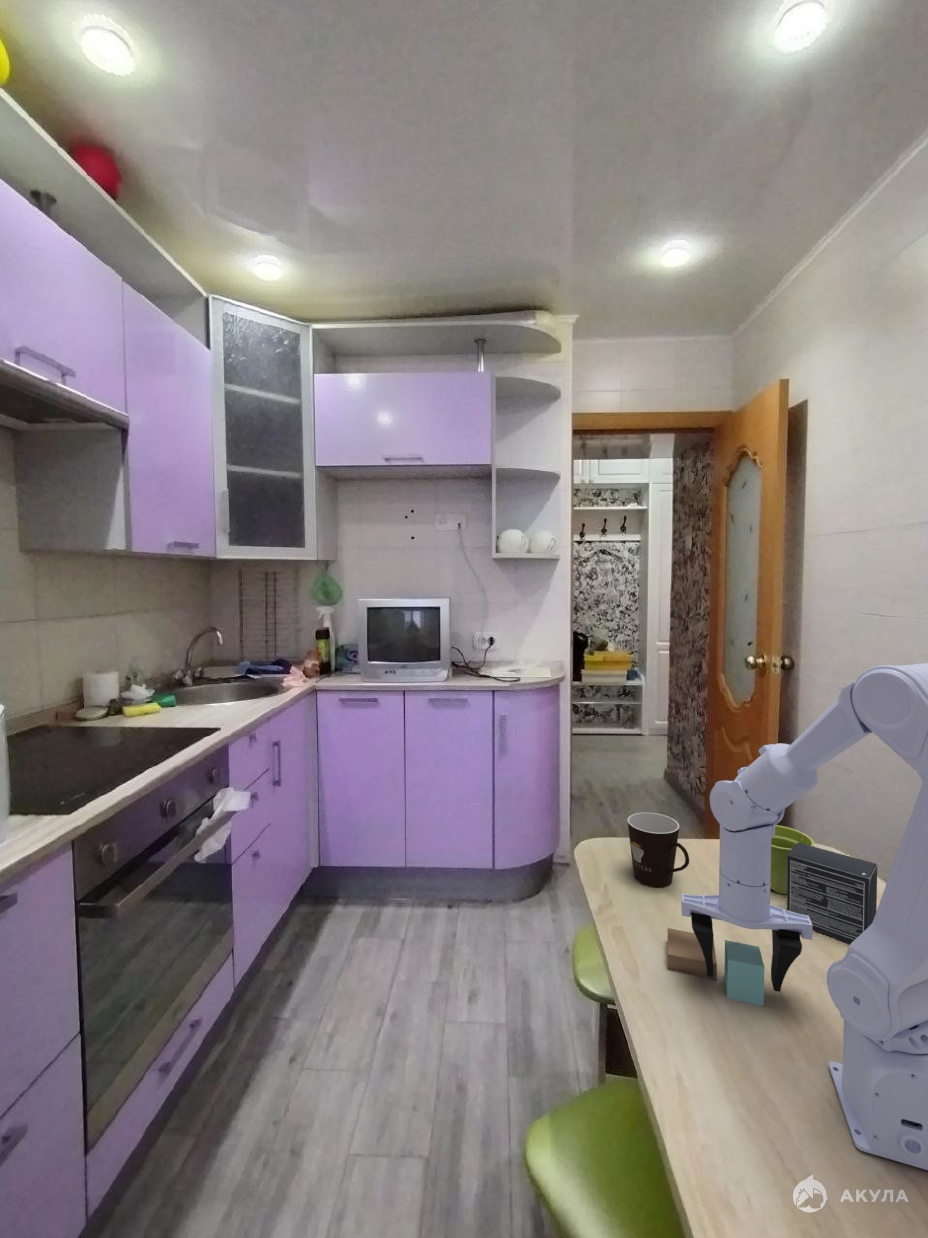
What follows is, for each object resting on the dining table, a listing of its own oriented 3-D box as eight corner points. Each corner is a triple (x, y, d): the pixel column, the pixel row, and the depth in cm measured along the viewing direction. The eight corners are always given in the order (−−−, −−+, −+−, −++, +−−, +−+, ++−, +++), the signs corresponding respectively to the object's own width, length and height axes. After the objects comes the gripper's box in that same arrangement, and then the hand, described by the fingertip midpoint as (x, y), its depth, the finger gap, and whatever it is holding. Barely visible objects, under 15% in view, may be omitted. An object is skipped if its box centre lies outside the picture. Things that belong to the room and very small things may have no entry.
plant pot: (795, 872, 97) (796, 825, 96) (824, 902, 88) (825, 850, 87) (740, 870, 98) (741, 823, 97) (763, 900, 89) (764, 848, 88)
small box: (878, 931, 80) (880, 862, 80) (870, 953, 76) (872, 879, 75) (796, 903, 88) (797, 839, 87) (784, 920, 83) (785, 854, 83)
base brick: (716, 979, 71) (716, 964, 71) (667, 968, 73) (667, 954, 73) (713, 950, 76) (713, 936, 76) (667, 941, 79) (667, 928, 78)
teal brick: (763, 1006, 66) (764, 967, 66) (727, 998, 68) (727, 959, 67) (758, 984, 70) (759, 946, 70) (724, 976, 71) (724, 940, 71)
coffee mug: (621, 865, 100) (622, 812, 100) (669, 865, 100) (669, 812, 99) (639, 901, 89) (640, 841, 88) (693, 902, 88) (694, 842, 88)
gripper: (803, 868, 69) (801, 971, 70) (681, 850, 74) (680, 946, 75) (818, 898, 63) (815, 1011, 63) (682, 876, 68) (681, 981, 68)
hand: (742, 978), depth 69 cm, fingers open, 7 cm apart
